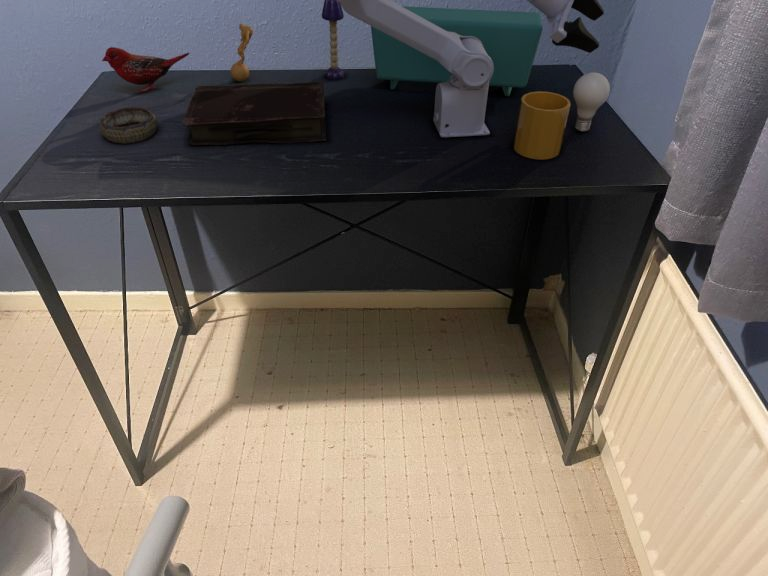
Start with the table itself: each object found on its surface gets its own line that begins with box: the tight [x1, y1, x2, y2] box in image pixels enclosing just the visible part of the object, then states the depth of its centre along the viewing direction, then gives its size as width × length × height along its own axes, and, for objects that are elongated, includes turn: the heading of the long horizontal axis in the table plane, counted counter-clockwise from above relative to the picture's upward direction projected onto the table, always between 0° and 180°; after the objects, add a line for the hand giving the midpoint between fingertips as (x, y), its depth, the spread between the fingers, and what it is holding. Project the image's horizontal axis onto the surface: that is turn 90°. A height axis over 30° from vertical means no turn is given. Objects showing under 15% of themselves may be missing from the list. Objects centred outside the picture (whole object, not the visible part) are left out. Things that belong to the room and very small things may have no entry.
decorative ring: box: [99, 106, 159, 145], centre depth 107 cm, size 10×3×10 cm
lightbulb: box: [572, 71, 611, 133], centre depth 106 cm, size 6×6×11 cm
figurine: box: [230, 23, 254, 83], centre depth 124 cm, size 8×6×12 cm
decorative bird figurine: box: [101, 46, 191, 94], centre depth 121 cm, size 3×18×10 cm, turn 123°
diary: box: [182, 81, 327, 146], centre depth 110 cm, size 19×25×5 cm
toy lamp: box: [321, 0, 345, 81], centre depth 125 cm, size 5×5×17 cm
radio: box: [370, 5, 544, 97], centre depth 121 cm, size 34×10×15 cm, turn 82°
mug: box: [513, 90, 572, 161], centre depth 102 cm, size 11×8×9 cm
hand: (597, 32), depth 100 cm, fingers open, 7 cm apart
